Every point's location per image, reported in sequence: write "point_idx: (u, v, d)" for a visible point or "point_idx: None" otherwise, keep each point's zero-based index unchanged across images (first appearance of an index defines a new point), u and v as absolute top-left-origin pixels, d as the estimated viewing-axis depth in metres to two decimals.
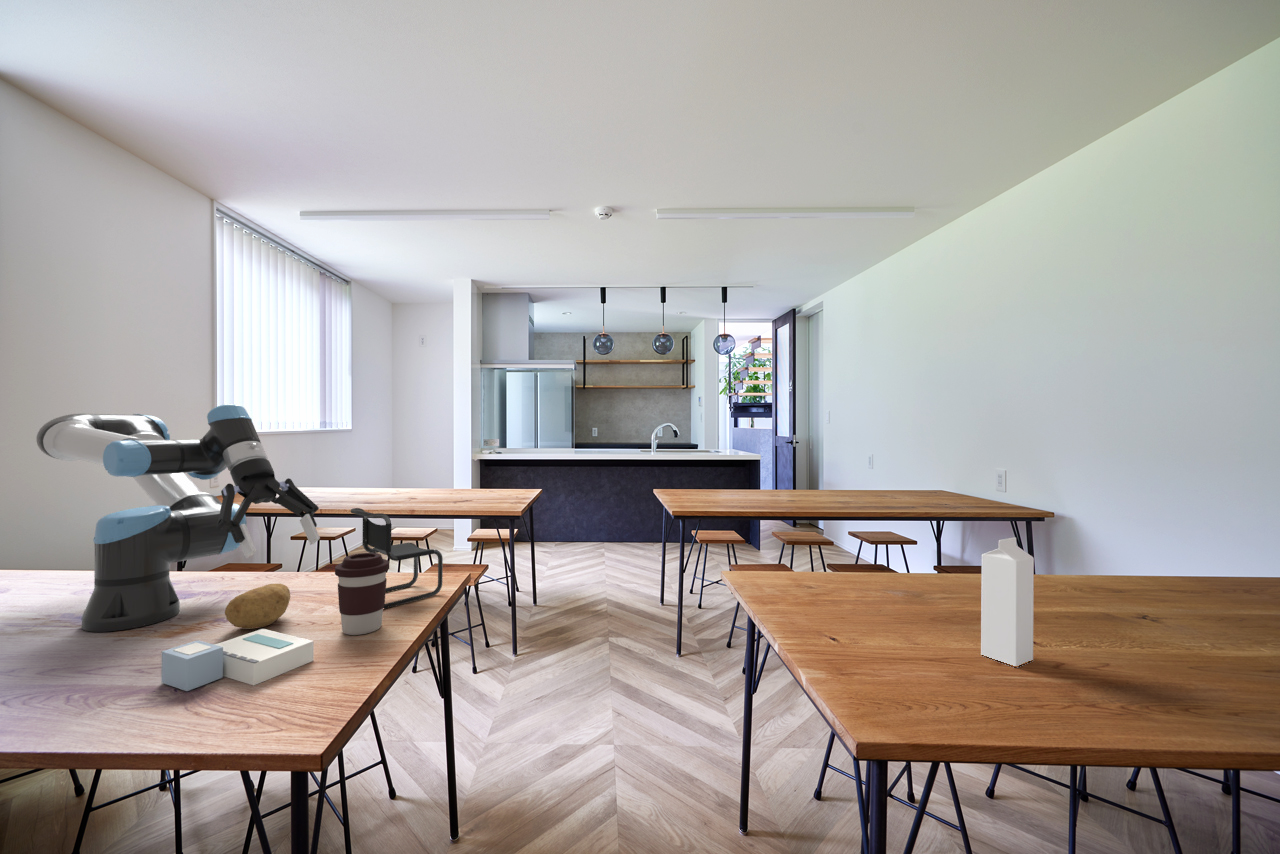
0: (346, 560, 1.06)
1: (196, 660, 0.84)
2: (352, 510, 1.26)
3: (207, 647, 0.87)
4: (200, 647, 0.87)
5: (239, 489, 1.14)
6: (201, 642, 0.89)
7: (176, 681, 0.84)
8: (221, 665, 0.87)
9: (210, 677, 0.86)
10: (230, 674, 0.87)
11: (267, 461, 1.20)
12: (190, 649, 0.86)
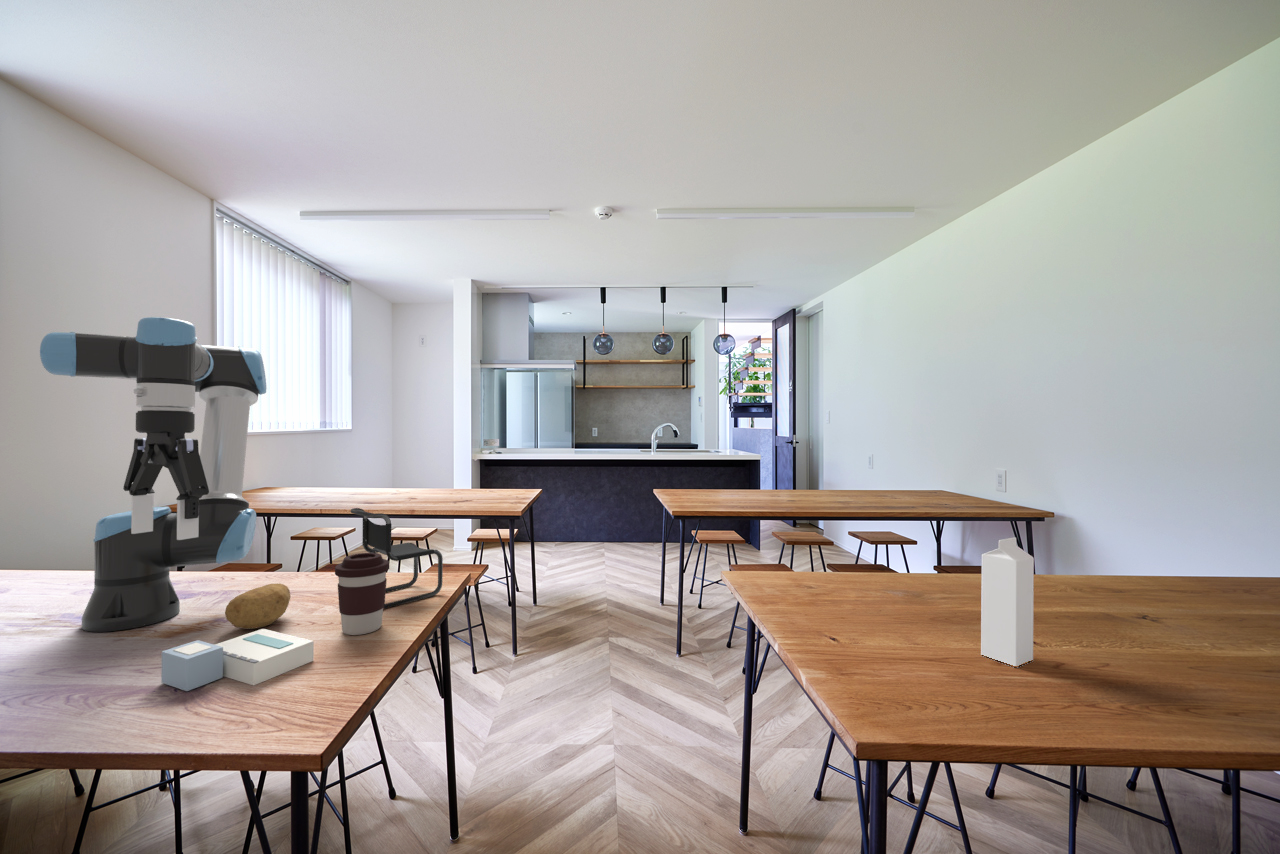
0: (346, 560, 1.06)
1: (196, 660, 0.84)
2: (352, 510, 1.26)
3: (207, 647, 0.87)
4: (200, 647, 0.87)
5: None
6: (201, 642, 0.89)
7: (176, 681, 0.84)
8: (221, 665, 0.87)
9: (210, 677, 0.86)
10: (230, 674, 0.87)
11: (149, 415, 0.87)
12: (190, 649, 0.86)
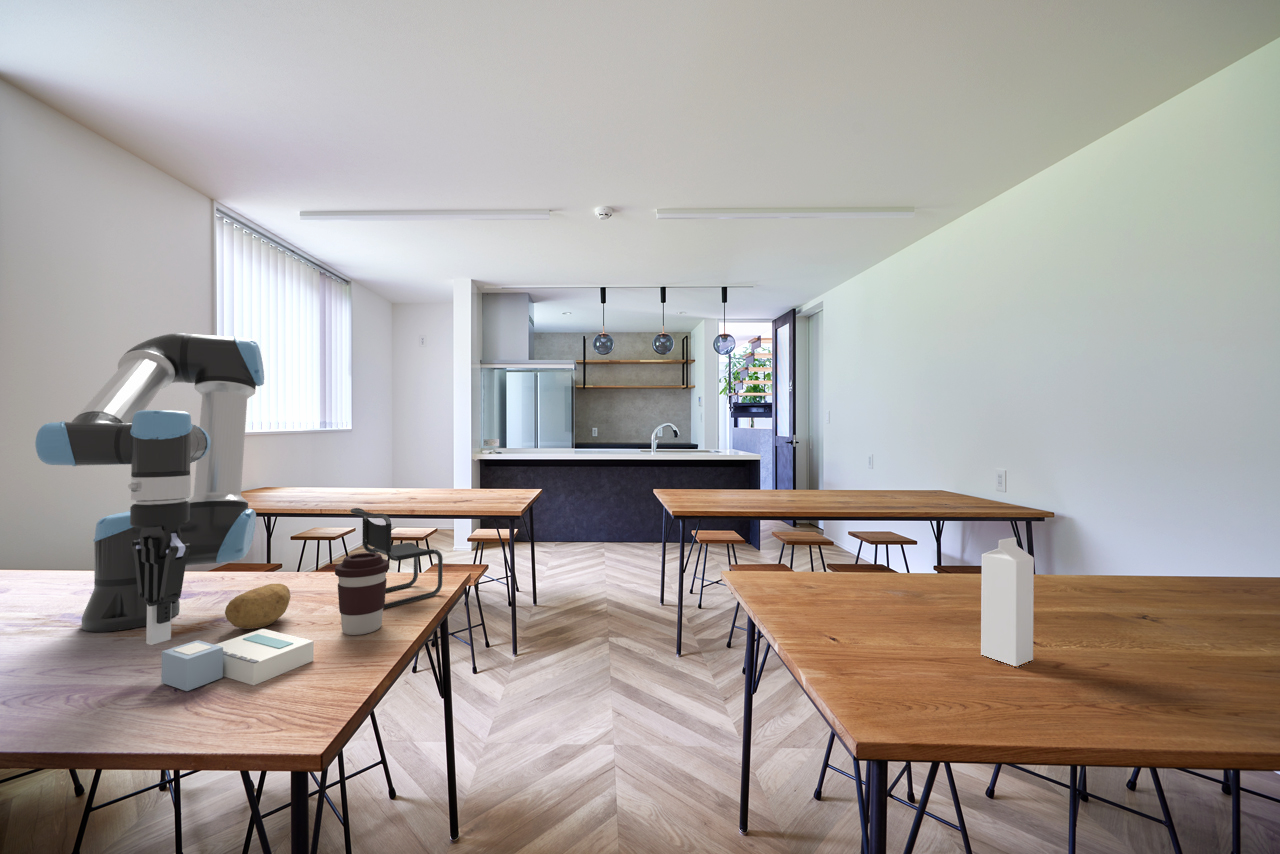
0: (346, 560, 1.06)
1: (196, 660, 0.84)
2: (352, 510, 1.26)
3: (207, 647, 0.87)
4: (200, 647, 0.87)
5: None
6: (201, 642, 0.89)
7: (176, 681, 0.84)
8: (221, 665, 0.87)
9: (210, 677, 0.86)
10: (230, 674, 0.87)
11: (143, 511, 0.86)
12: (190, 649, 0.86)
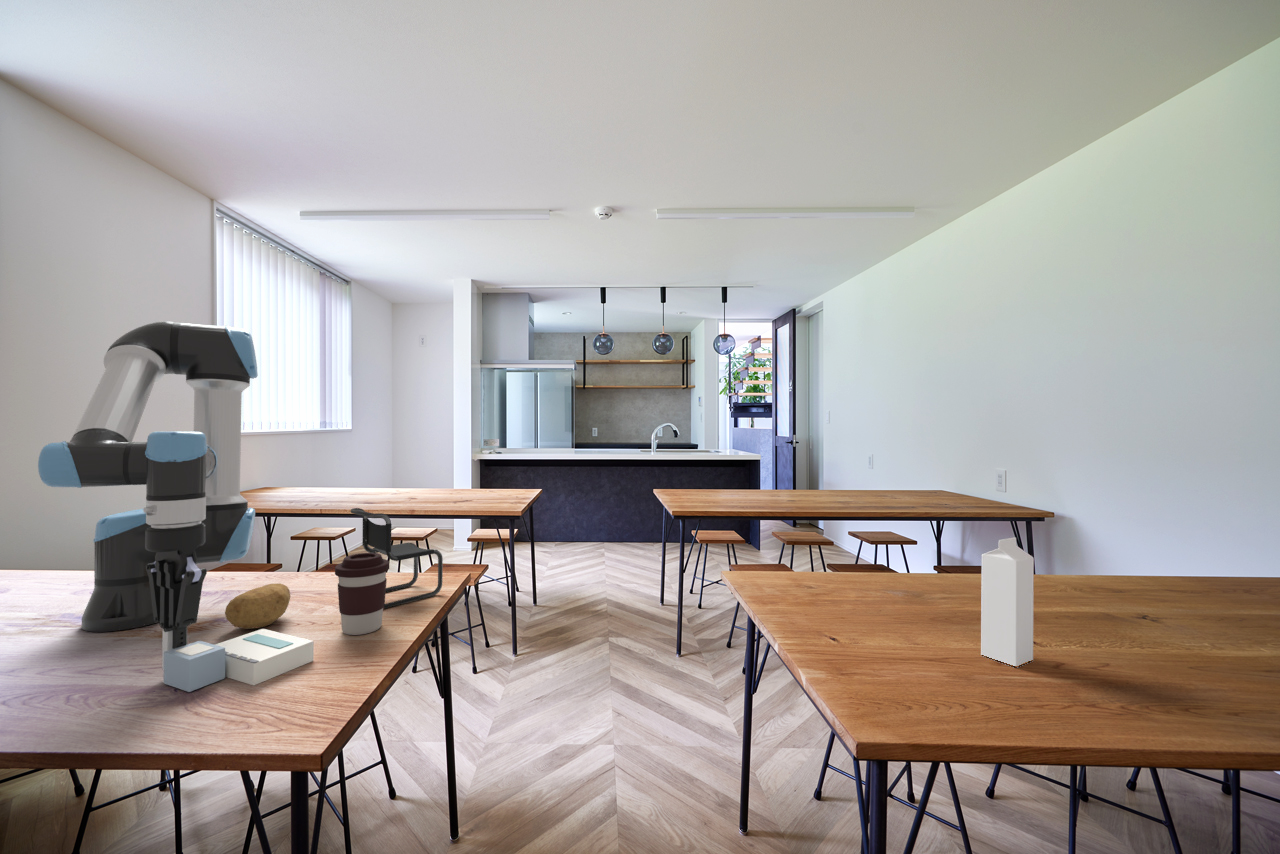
0: (346, 560, 1.06)
1: (198, 661, 0.84)
2: (352, 510, 1.26)
3: (209, 648, 0.87)
4: (202, 648, 0.86)
5: None
6: (203, 643, 0.89)
7: (178, 682, 0.84)
8: (223, 666, 0.87)
9: (212, 678, 0.85)
10: (230, 674, 0.87)
11: (158, 535, 0.84)
12: (192, 650, 0.86)
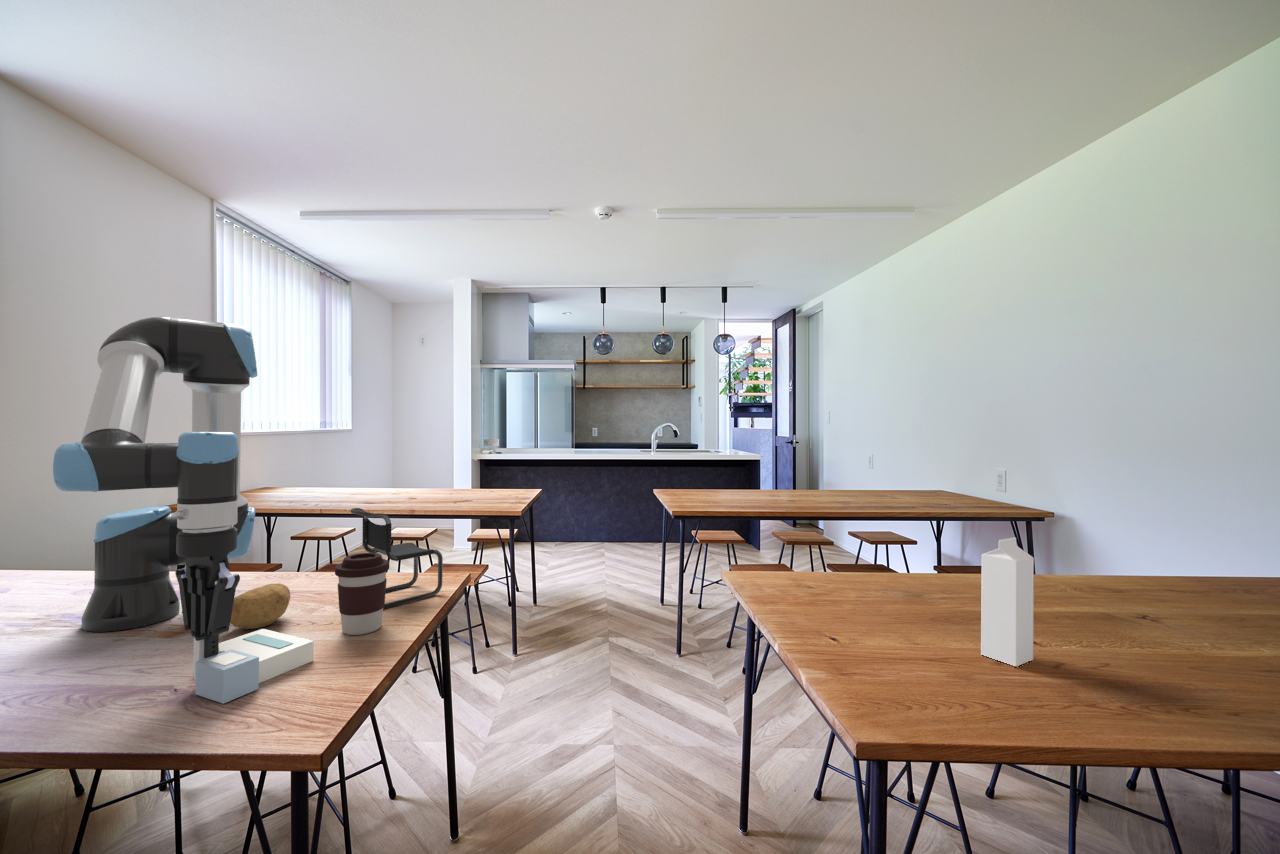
0: (346, 560, 1.06)
1: (232, 671, 0.80)
2: (352, 510, 1.26)
3: (242, 657, 0.83)
4: (235, 657, 0.83)
5: None
6: (235, 651, 0.85)
7: (211, 693, 0.80)
8: (257, 676, 0.83)
9: (246, 688, 0.82)
10: None
11: (191, 540, 0.81)
12: (225, 659, 0.82)
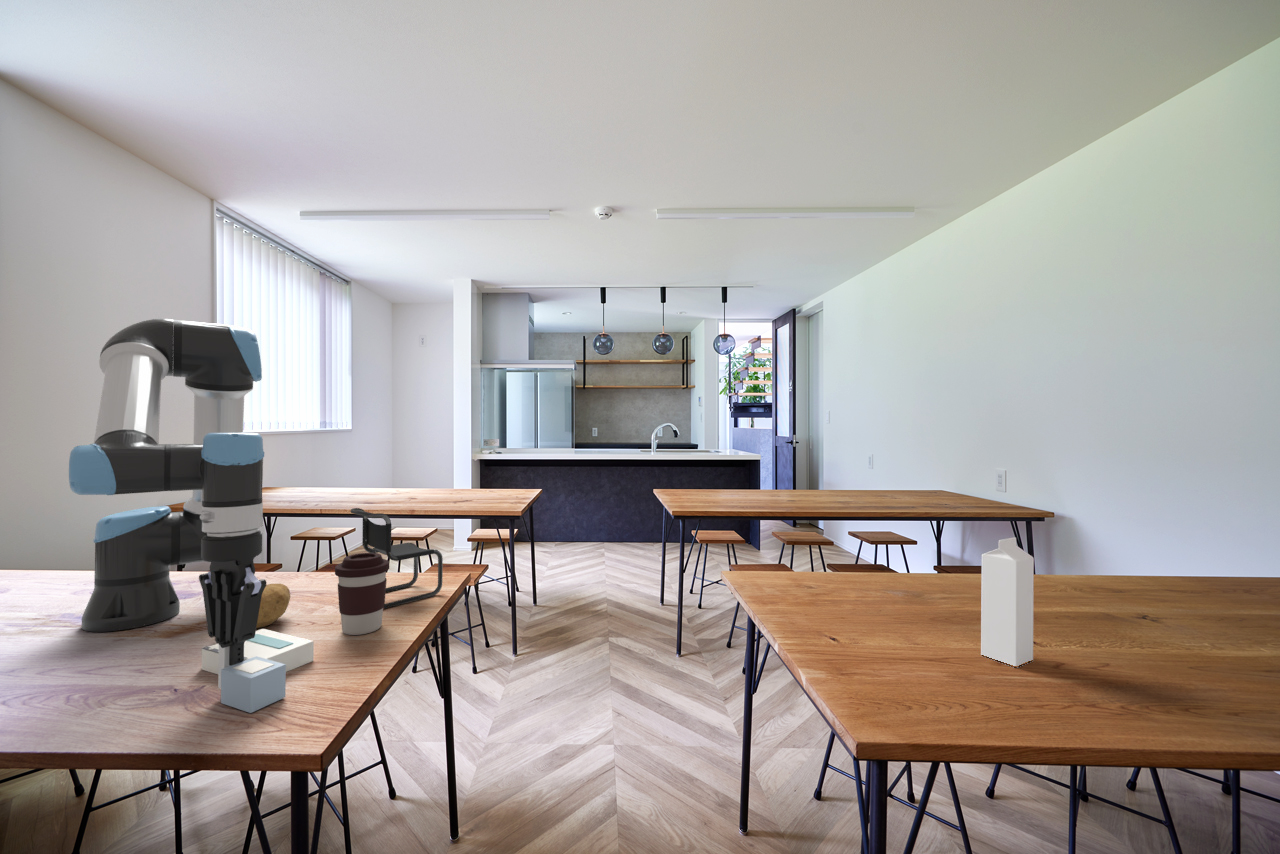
0: (346, 560, 1.06)
1: (259, 679, 0.78)
2: (352, 510, 1.26)
3: (269, 664, 0.81)
4: (261, 664, 0.81)
5: None
6: (261, 659, 0.83)
7: (238, 702, 0.78)
8: (284, 684, 0.81)
9: (273, 697, 0.80)
10: None
11: (216, 544, 0.79)
12: (251, 667, 0.80)
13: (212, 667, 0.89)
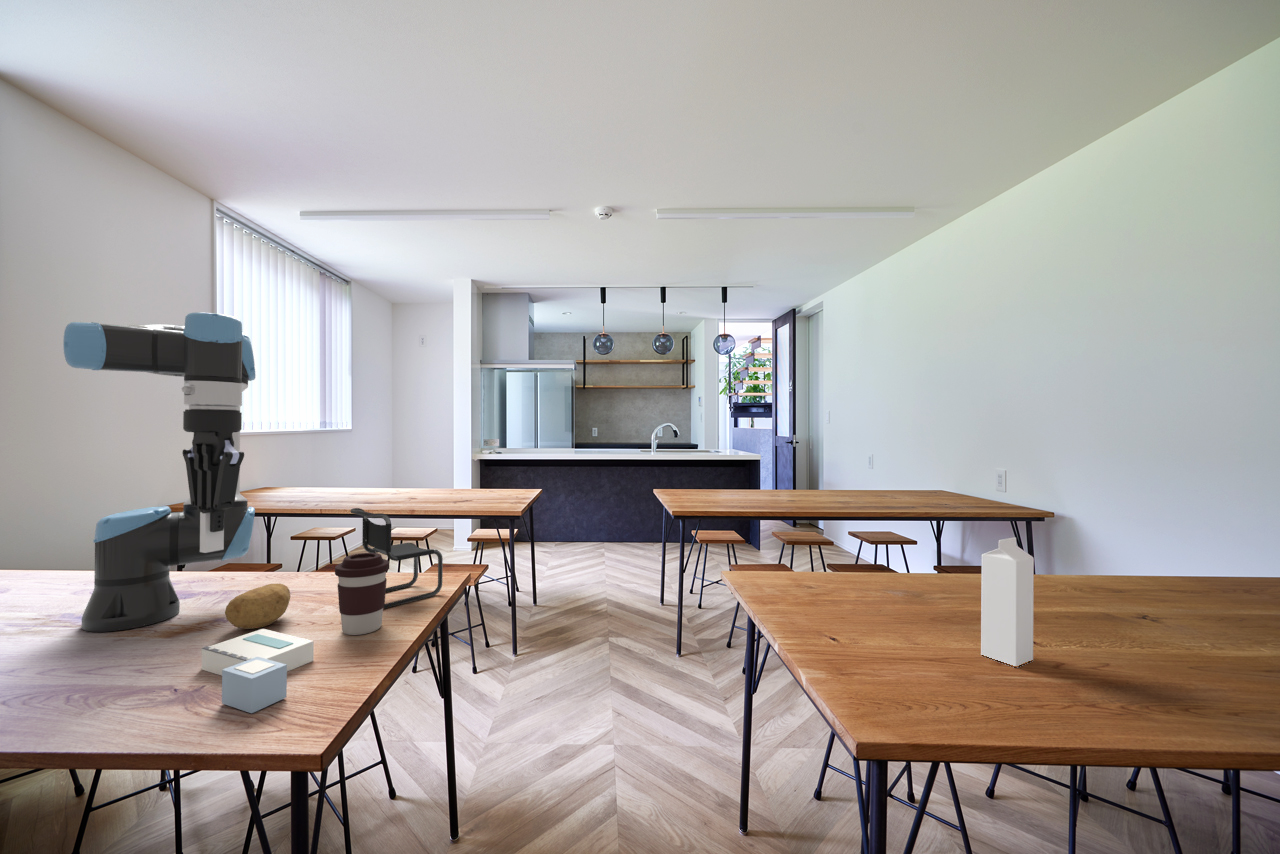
0: (346, 560, 1.06)
1: (260, 680, 0.78)
2: (352, 510, 1.26)
3: (270, 665, 0.81)
4: (262, 665, 0.81)
5: None
6: (262, 659, 0.83)
7: (239, 702, 0.78)
8: (285, 684, 0.81)
9: (274, 697, 0.79)
10: None
11: (197, 414, 0.84)
12: (252, 667, 0.80)
13: (212, 667, 0.89)
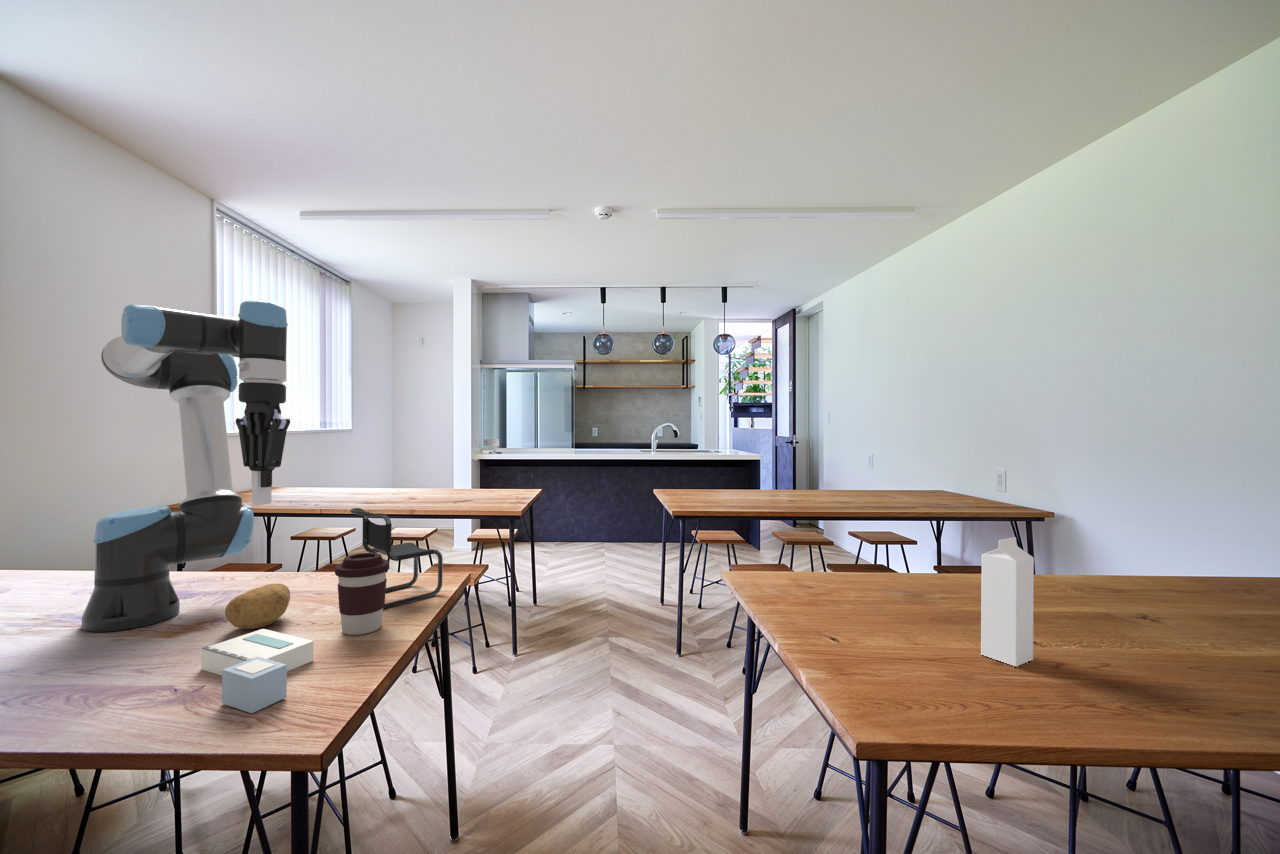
0: (346, 560, 1.06)
1: (260, 680, 0.78)
2: (352, 510, 1.26)
3: (270, 665, 0.81)
4: (262, 665, 0.81)
5: None
6: (262, 659, 0.83)
7: (239, 702, 0.78)
8: (285, 684, 0.81)
9: (274, 697, 0.79)
10: None
11: (251, 387, 1.00)
12: (252, 667, 0.80)
13: (212, 667, 0.89)
